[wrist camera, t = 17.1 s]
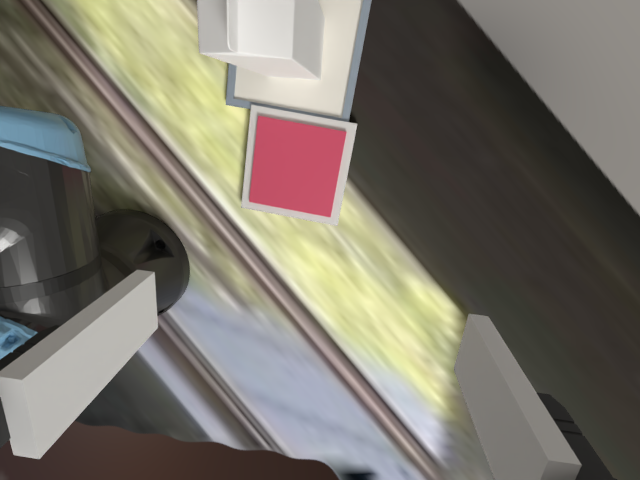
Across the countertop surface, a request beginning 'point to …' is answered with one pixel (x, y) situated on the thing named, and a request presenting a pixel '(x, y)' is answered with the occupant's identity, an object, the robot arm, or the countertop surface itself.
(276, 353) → the countertop surface
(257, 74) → the marked square
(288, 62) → the milk
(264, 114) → the ink pad
